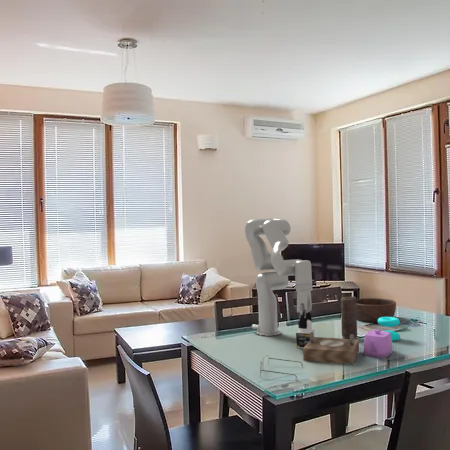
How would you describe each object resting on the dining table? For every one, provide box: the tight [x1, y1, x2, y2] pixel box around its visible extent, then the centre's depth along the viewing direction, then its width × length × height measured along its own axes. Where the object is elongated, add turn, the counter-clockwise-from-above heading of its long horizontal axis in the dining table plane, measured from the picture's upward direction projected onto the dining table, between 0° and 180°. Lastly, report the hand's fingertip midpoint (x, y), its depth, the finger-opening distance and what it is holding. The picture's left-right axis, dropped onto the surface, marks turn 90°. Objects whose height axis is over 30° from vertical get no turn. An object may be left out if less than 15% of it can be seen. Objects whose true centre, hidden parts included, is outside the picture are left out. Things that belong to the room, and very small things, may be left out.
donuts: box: [377, 316, 401, 342], centre depth 223 cm, size 10×10×10 cm
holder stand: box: [302, 332, 360, 365], centre depth 199 cm, size 20×20×9 cm
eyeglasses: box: [259, 354, 304, 379], centre depth 180 cm, size 16×15×5 cm
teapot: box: [363, 328, 393, 359], centre depth 199 cm, size 18×10×10 cm, turn 146°
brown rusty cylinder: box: [340, 296, 358, 339], centre depth 227 cm, size 8×7×20 cm
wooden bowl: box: [356, 297, 397, 323], centre depth 270 cm, size 25×25×10 cm
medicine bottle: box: [295, 320, 316, 349], centre depth 215 cm, size 7×7×12 cm
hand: (305, 324), depth 215 cm, fingers open, 9 cm apart
